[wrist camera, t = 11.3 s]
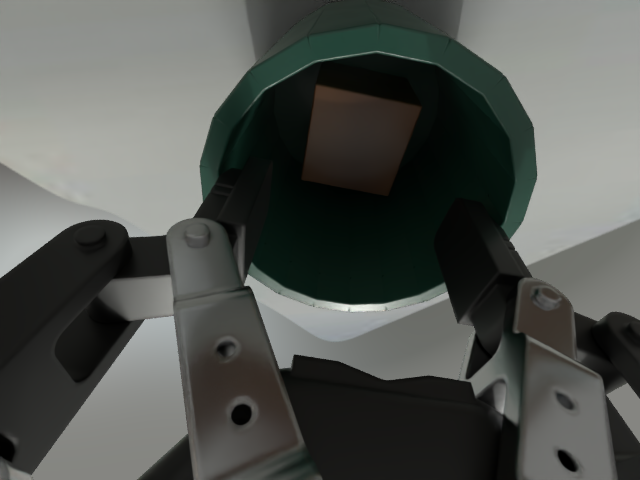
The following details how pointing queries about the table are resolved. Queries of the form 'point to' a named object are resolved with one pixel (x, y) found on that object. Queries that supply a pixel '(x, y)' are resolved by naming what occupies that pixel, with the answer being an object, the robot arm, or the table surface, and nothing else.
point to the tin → (414, 172)
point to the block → (358, 128)
